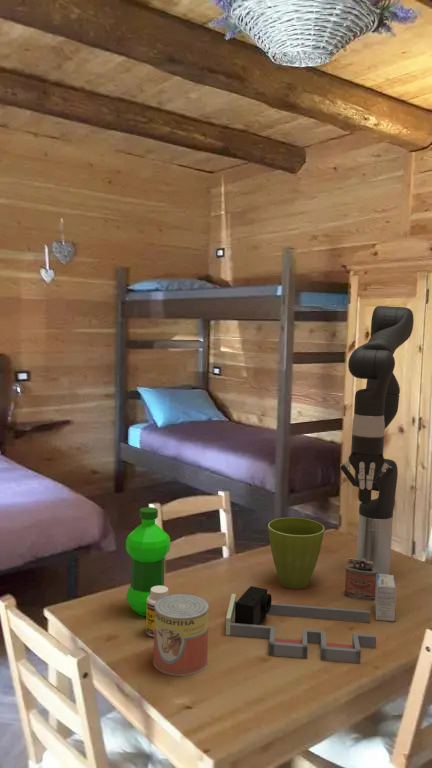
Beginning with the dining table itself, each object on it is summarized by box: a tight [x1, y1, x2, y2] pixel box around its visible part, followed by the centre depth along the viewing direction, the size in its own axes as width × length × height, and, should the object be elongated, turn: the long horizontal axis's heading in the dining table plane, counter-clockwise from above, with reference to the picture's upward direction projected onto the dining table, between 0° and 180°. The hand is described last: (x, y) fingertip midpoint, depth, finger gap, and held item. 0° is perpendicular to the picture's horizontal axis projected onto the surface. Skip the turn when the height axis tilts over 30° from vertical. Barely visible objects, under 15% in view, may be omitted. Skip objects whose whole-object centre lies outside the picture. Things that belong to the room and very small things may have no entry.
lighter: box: [343, 557, 377, 602], centre depth 168 cm, size 8×3×10 cm, turn 71°
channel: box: [225, 593, 377, 664], centre depth 147 cm, size 20×33×4 cm, turn 83°
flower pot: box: [267, 517, 325, 590], centre depth 175 cm, size 15×15×16 cm
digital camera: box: [234, 585, 272, 625], centre depth 152 cm, size 10×5×7 cm, turn 157°
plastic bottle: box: [125, 506, 171, 617], centre depth 156 cm, size 10×10×25 cm
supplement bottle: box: [145, 585, 169, 638], centre depth 146 cm, size 6×6×10 cm
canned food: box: [152, 593, 210, 677], centre depth 134 cm, size 11×11×12 cm
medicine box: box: [374, 574, 397, 622], centre depth 159 cm, size 8×4×9 cm, turn 168°
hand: (364, 503), depth 158 cm, fingers closed
